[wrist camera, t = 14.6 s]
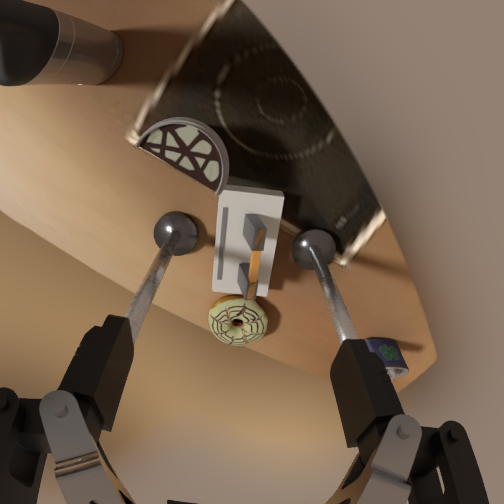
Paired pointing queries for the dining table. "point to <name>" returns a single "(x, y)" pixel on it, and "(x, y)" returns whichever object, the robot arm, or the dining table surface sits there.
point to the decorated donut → (233, 331)
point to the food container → (189, 150)
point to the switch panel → (233, 242)
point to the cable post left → (162, 262)
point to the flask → (388, 355)
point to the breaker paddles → (248, 272)
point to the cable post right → (324, 274)
